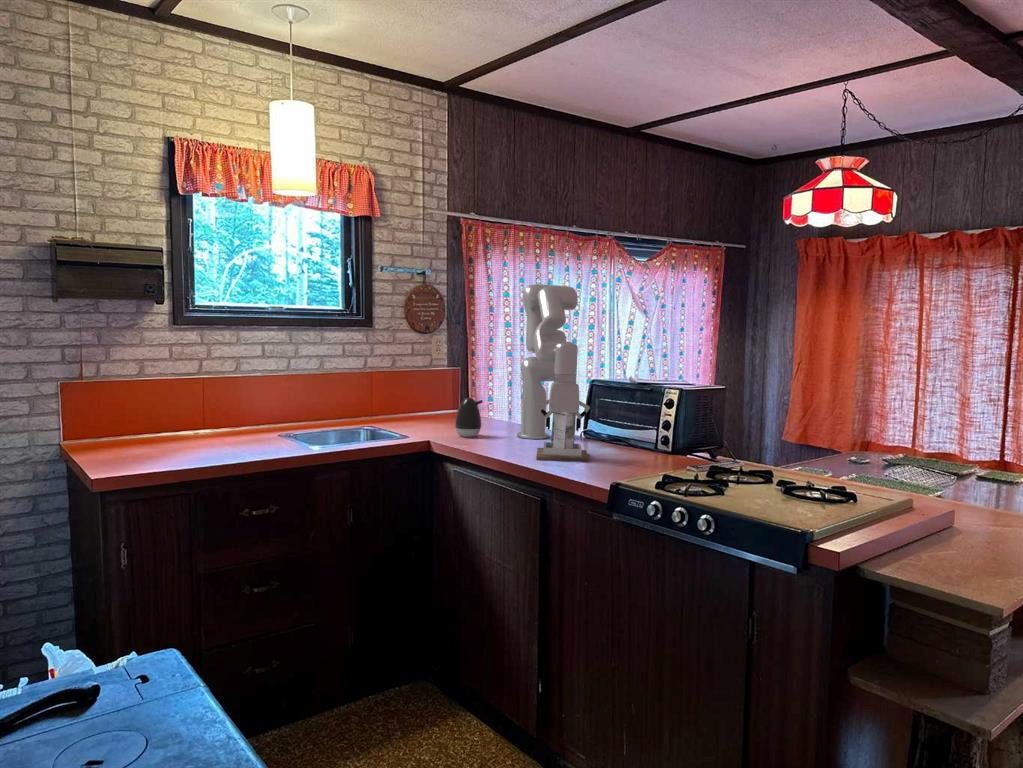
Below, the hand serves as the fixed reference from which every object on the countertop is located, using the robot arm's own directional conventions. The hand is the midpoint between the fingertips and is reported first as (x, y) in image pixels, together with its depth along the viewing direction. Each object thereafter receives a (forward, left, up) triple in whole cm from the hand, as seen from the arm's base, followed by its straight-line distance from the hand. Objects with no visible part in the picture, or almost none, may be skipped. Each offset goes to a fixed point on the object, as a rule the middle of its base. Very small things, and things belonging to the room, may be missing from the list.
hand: (562, 429), depth 250 cm
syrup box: (0, 0, -8) cm, 8 cm away
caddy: (0, 0, -9) cm, 9 cm away
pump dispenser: (-35, -36, -9) cm, 51 cm away
